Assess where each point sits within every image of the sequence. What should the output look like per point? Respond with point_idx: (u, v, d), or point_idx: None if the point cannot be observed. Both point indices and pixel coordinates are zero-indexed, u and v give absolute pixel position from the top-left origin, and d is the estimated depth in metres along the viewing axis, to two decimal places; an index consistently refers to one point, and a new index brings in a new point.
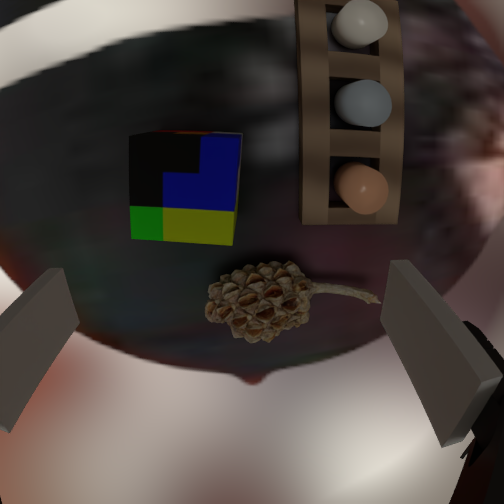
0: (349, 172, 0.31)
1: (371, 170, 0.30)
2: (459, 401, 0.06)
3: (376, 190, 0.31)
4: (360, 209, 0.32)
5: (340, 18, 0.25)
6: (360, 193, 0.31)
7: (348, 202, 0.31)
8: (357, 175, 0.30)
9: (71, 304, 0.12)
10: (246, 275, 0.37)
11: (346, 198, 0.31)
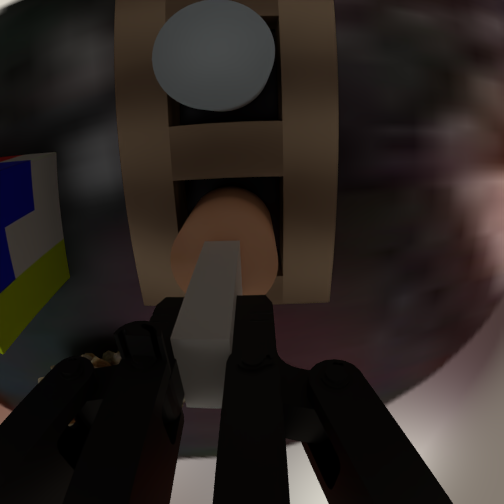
0: (187, 219, 0.15)
1: (228, 216, 0.13)
2: None
3: (246, 260, 0.14)
4: None
5: None
6: None
7: (183, 287, 0.15)
8: (193, 230, 0.14)
9: None
10: None
11: (177, 279, 0.15)
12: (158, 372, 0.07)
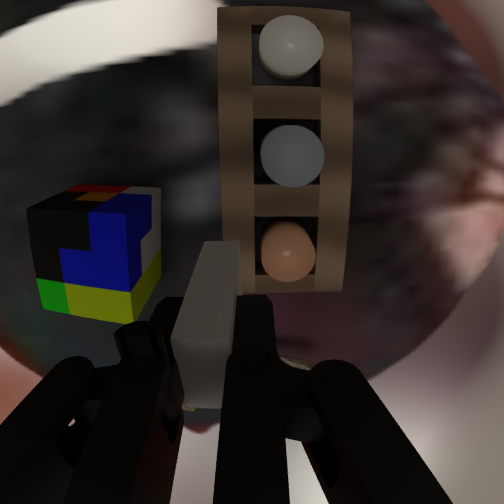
0: (270, 234, 0.29)
1: (293, 233, 0.28)
2: None
3: (300, 255, 0.29)
4: (281, 276, 0.29)
5: (259, 44, 0.21)
6: (281, 259, 0.29)
7: (266, 269, 0.29)
8: (275, 240, 0.28)
9: None
10: None
11: (264, 265, 0.29)
12: (158, 372, 0.07)
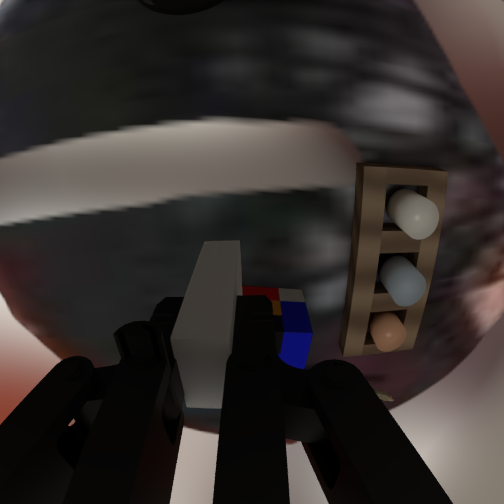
0: (381, 325, 0.42)
1: (396, 325, 0.41)
2: None
3: (398, 336, 0.41)
4: (385, 349, 0.42)
5: (401, 217, 0.34)
6: (386, 340, 0.42)
7: (377, 346, 0.42)
8: (386, 330, 0.41)
9: None
10: None
11: (376, 344, 0.42)
12: (158, 372, 0.07)
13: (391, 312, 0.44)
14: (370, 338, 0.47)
